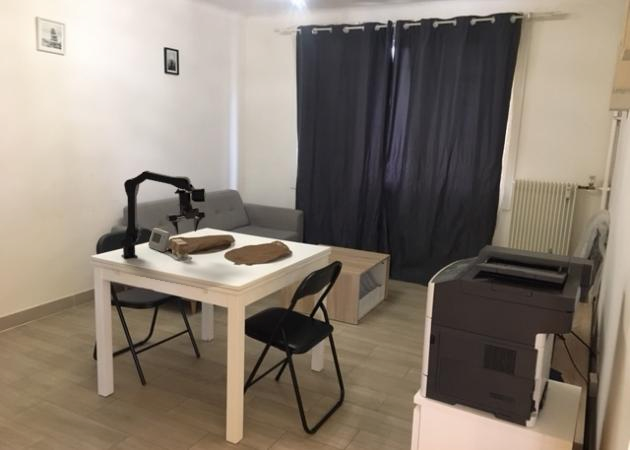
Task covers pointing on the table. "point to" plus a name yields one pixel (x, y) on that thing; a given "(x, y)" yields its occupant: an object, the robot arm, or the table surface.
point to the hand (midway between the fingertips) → (186, 232)
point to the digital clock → (159, 240)
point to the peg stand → (179, 256)
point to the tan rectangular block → (179, 246)
